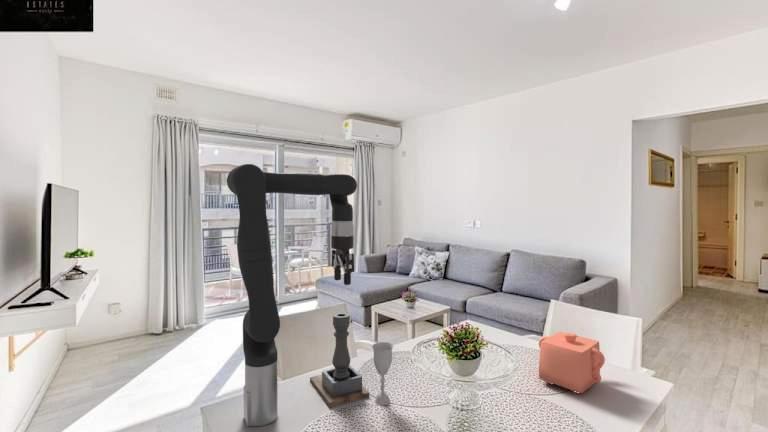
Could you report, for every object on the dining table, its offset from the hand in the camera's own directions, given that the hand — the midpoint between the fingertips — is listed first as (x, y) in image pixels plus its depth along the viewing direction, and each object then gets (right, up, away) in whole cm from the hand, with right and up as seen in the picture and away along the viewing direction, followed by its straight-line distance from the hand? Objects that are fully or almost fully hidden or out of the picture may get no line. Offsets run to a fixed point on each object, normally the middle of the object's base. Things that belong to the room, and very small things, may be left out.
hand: (342, 282), depth 128 cm
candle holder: (0, -36, +1) cm, 36 cm away
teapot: (+84, -38, +12) cm, 93 cm away
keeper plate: (-2, -38, +4) cm, 38 cm away
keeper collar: (0, -36, +1) cm, 36 cm away
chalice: (+14, -38, -4) cm, 41 cm away
